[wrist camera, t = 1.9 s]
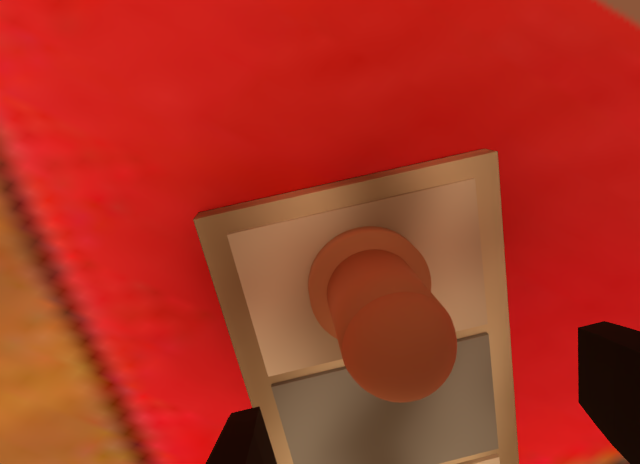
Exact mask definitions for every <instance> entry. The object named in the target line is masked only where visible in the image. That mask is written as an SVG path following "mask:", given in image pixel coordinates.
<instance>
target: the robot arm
mask: <svg viewBox="0 0 640 464" xmlns="http://www.w3.org/2000/svg"><path fill="white" fill-rule="evenodd" d="M578 375H579V403H580V405H581V406H582V407H583V409H584V410H585V411H586V413H587V414H588V415H589V416H590V418H591V419H592V420H593V422H594V423H595V424H596V426H597V427H598V428H599V429H600V430H601V432H602V433H603V434H604V435H605V437H606V438H607V439H608V440H609V441H610V443H611V444H612V445H613V446H614V447H615V448H616V449H617V450H618V451H619V452H620V454H621V455H622V456H623V457H624V458H625V459H626V460H627V461H628V462H629V463H630V464H640V331H637V330H634V329H630V328H627V327H623V326H620V325H616V324H613V323H609V322H605V321H604V322H600V323H596V324H592V325H587V326H583V327H579V328H578ZM206 464H277V461H276V458H275V455H274V452H273V448H272V445H271V442H270V439H269V436H268V432H267V429H266V426H265V423H264V419H263V416H262V413H261V410H260V406H259V407H255V408H251V409H247V410H243V411H239V412H235V413H232V414H231V415H230V416H229V418H228V420H227V422H226V424H225V426H224V428H223V430H222V432H221V434H220V436H219V438H218V440H217V442H216V444H215V446H214V448H213V450H212V452H211V454H210V456H209V458H208V460H207V462H206Z"/></svg>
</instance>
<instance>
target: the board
mask: <svg viewBox="0 0 640 464" xmlns="http://www.w3.org/2000/svg"><path fill="white" fill-rule="evenodd" d="M193 220H194V224H195V227H196V230H197V233H198V236H199V239H200V243H201V246H202V249H203V252H204V255H205V258H206V262H207V265H208V268H209V271H210V274H211V278H212V281H213V284H214V287H215V290H216V293H217V297H218V300H219V303H220V306H221V309H222V312H223V316H224V319H225V322H226V325H227V328H228V332H229V335H230V338H231V341H232V344H233V347H234V351H235V354H236V357H237V360H238V363H239V366H240V370H241V373H242V376H243V379H244V382H245V386H246V389H247V392H248V395H249V398H250V401H251V405H252V408H255V407H259V406H260V410H261V413H262V416H263V419H264V423H265V426H266V429H267V432H268V436H269V439H270V442H271V445H272V448H273V452H274V455H275V458H276V461H277V464H519V457H518V442H517V428H516V413H515V398H514V384H513V369H512V355H511V340H510V325H509V311H508V296H507V282H506V267H505V252H504V238H503V223H502V208H501V194H500V179H499V165H498V151H494V150H488V149H480V150H476V151H471V152H467V153H462V154H458V155H454V156H449V157H445V158H440V159H436V160H431V161H427V162H422V163H418V164H413V165H409V166H404V167H400V168H395V169H391V170H387V171H382V172H378V173H373V174H369V175H364V176H360V177H355V178H351V179H346V180H342V181H337V182H333V183H328V184H324V185H320V186H315V187H311V188H306V189H302V190H297V191H293V192H288V193H284V194H279V195H275V196H270V197H266V198H261V199H257V200H253V201H248V202H244V203H239V204H235V205H230V206H226V207H221V208H217V209H212V210H208V211H203V212H199V213H198V214H197V215H196V217H195V218H194V219H193ZM364 226H376V227H383V228H387V229H390V230H392V231H395V232H397V233H399V234H400V235H402V236H403V237H405V238H406V239H407V240H408V241H409V242H410V243H411V244H412V245H413V246H414V247H415V248H416V249H417V250H418V251H419V252H420V253H421V255H422V256H423V257H424V259H425V261H426V263H427V265H428V268H429V271H430V276H431V293H432V294H433V295H434V296H435V297H436V299H437V300H438V301H439V302H440V303H441V304H442V306H443V307H444V308H445V309H446V311H447V312H448V313H449V315H450V317H451V319H452V322H453V325H454V328H455V332H456V338H457V354H456V360H455V363H454V366H453V369H452V371H451V373H450V375H449V377H448V378H447V379H446V381H445V382H444V383H443V384H442V385H441V386H440V387H439V388H438V389H437V390H436V391H435V392H433V393H432V394H430V395H429V396H427V397H425V398H422V399H420V400H416V401H412V402H403V403H399V402H390V401H387V400H383V399H380V398H378V397H375V396H374V395H372V394H370V393H369V392H367V391H365V390H364V389H363V388H362V387H361V386H360V385H359V384H358V383H357V382H356V381H355V380H354V379H353V377H352V376H351V375H350V374H349V372H348V371H347V369H346V367H345V365H344V362H343V358H342V354H341V351H340V347H339V343H338V339H336V338H334V337H333V336H331V335H330V334H329V333H328V332H326V331H325V330H324V329H323V328H322V326H321V325H320V324H319V322H318V321H317V319H316V317H315V315H314V313H313V310H312V307H311V303H310V297H309V291H308V278H309V273H310V269H311V266H312V264H313V261H314V259H315V258H316V256H317V254H318V253H319V252H320V250H321V249H322V248H323V247H324V246H325V245H326V244H327V243H328V242H329V241H330V240H332V239H333V238H334V237H336V236H337V235H339V234H341V233H343V232H345V231H348V230H350V229H354V228H358V227H364Z"/></svg>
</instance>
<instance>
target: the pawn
mask: <svg viewBox="0 0 640 464" xmlns="http://www.w3.org/2000/svg"><path fill="white" fill-rule="evenodd" d="M308 291H309V297H310V303H311V307H312V310H313V313H314V315H315V317H316V319H317V321H318V322H319V324H320V325H321V326H322V328H323V329H324V330H325V331H326V332H328V333H329V334H330V335H331V336H333V337H334V338H336V339H338V343H339V347H340V351H341V354H342V358H343V362H344V365H345V367H346V369H347V371H348V372H349V374H350V375H351V376H352V377H353V379H354V380H355V381H356V382H357V383H358V384H359V385H360V386H361V387H362V388H363V389H364V390H365V391H367V392H369V393H370V394H372V395H374V396H375V397H378V398H380V399H383V400H387V401H390V402H399V403H403V402H412V401H416V400H420V399H422V398H425V397H427V396H429V395H430V394H432V393H433V392H435V391H436V390H437V389H438V388H439V387H440V386H441V385H442V384H443V383H444V382H445V381H446V379H447V378H448V377H449V375H450V373H451V371H452V369H453V366H454V363H455V360H456V354H457V338H456V332H455V328H454V325H453V322H452V319H451V317H450V315H449V313H448V312H447V311H446V309H445V308H444V307H443V306H442V304H441V303H440V302H439V301H438V300H437V299H436V297H435V296H434V295H433V294H432V293H431V276H430V271H429V268H428V265H427V263H426V261H425V259H424V257H423V256H422V255H421V253H420V252H419V251H418V250H417V249H416V248H415V247H414V246H413V245H412V244H411V243H410V242H409V241H408V240H407V239H406V238H405V237H403V236H402V235H400V234H399V233H397V232H395V231H392V230H390V229H387V228H383V227H376V226H364V227H358V228H354V229H350V230H348V231H345V232H343V233H341V234H339V235H337V236H336V237H334V238H333V239H332V240H330V241H329V242H328V243H327V244H326V245H325V246H324V247H323V248H322V249H321V250H320V252H319V253H318V254H317V256H316V258H315V259H314V261H313V264H312V266H311V269H310V273H309V278H308Z"/></svg>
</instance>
